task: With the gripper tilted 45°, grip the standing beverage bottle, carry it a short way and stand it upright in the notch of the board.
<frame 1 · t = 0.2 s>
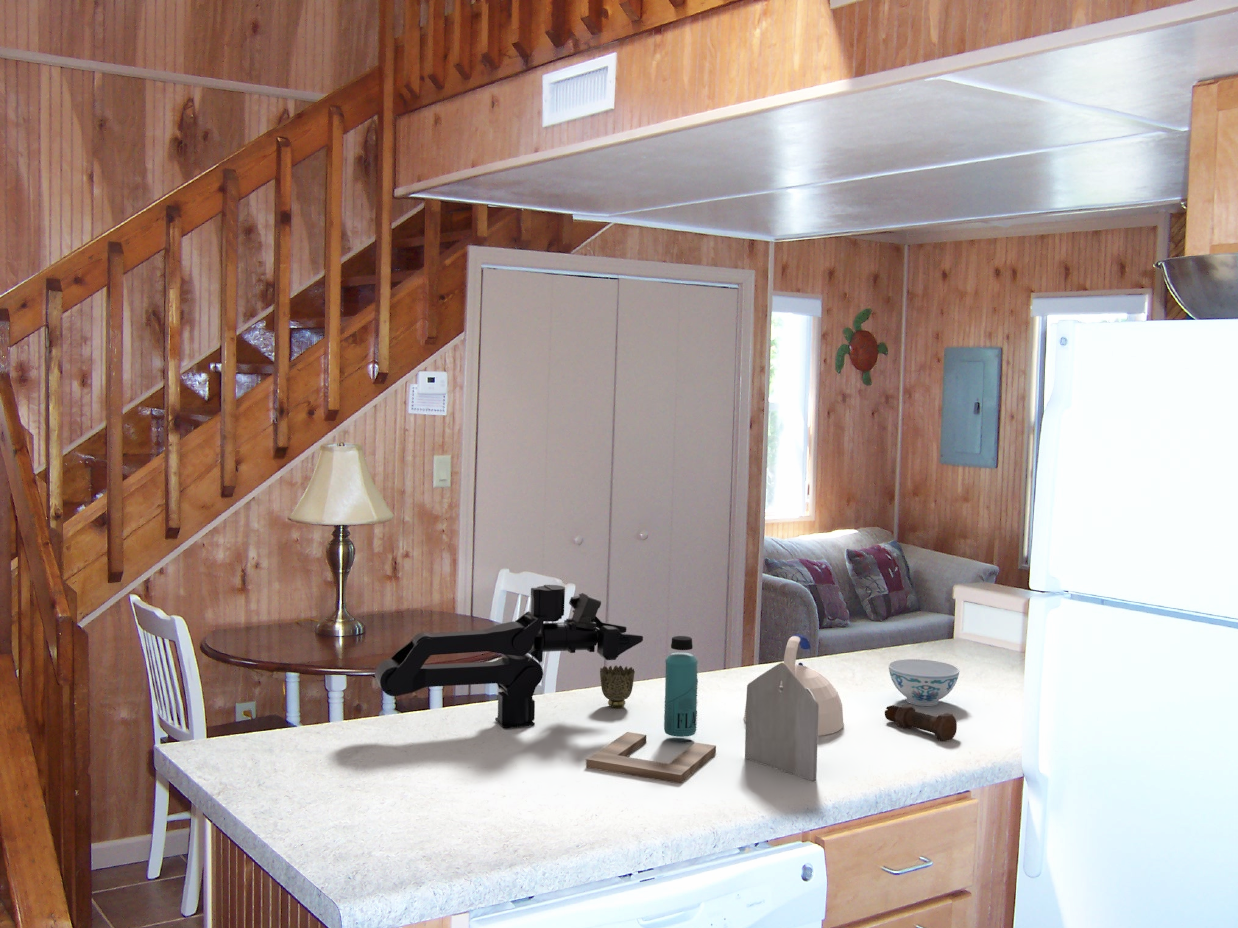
hand: (634, 633, 235), 17 cm above the countertop, fingers open, 9 cm apart
kettle: (793, 723, 232), on the countertop
beverage bottle: (679, 740, 219), on the countertop
cup: (616, 707, 241), on the countertop
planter: (792, 765, 205), on the countertop
bolt: (918, 732, 228), on the countertop
chinaware: (922, 702, 249), on the countertop
notched board: (652, 760, 206), on the countertop
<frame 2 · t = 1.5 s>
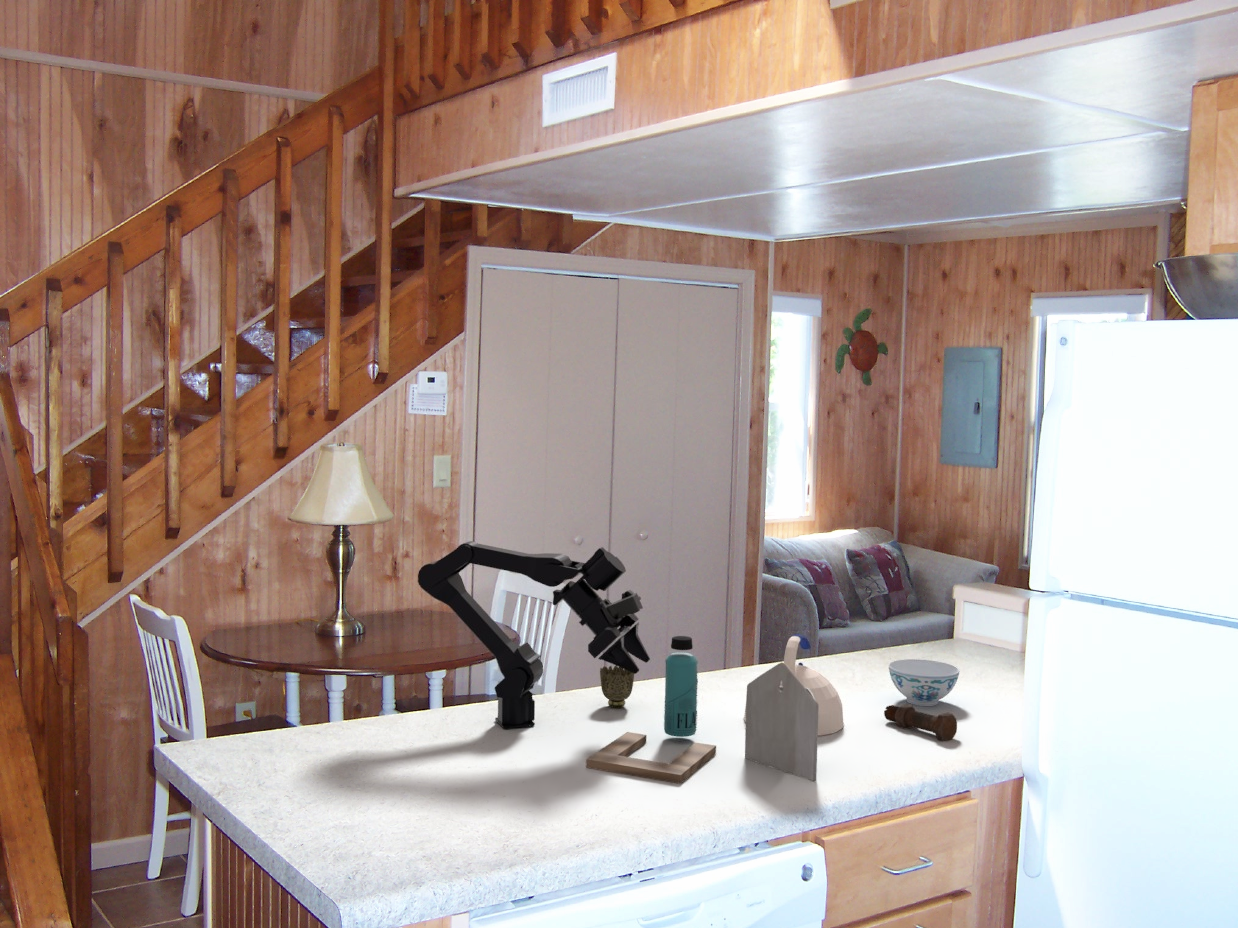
hand: (643, 666, 220), 14 cm above the countertop, fingers open, 9 cm apart
nothing on the countertop moved.
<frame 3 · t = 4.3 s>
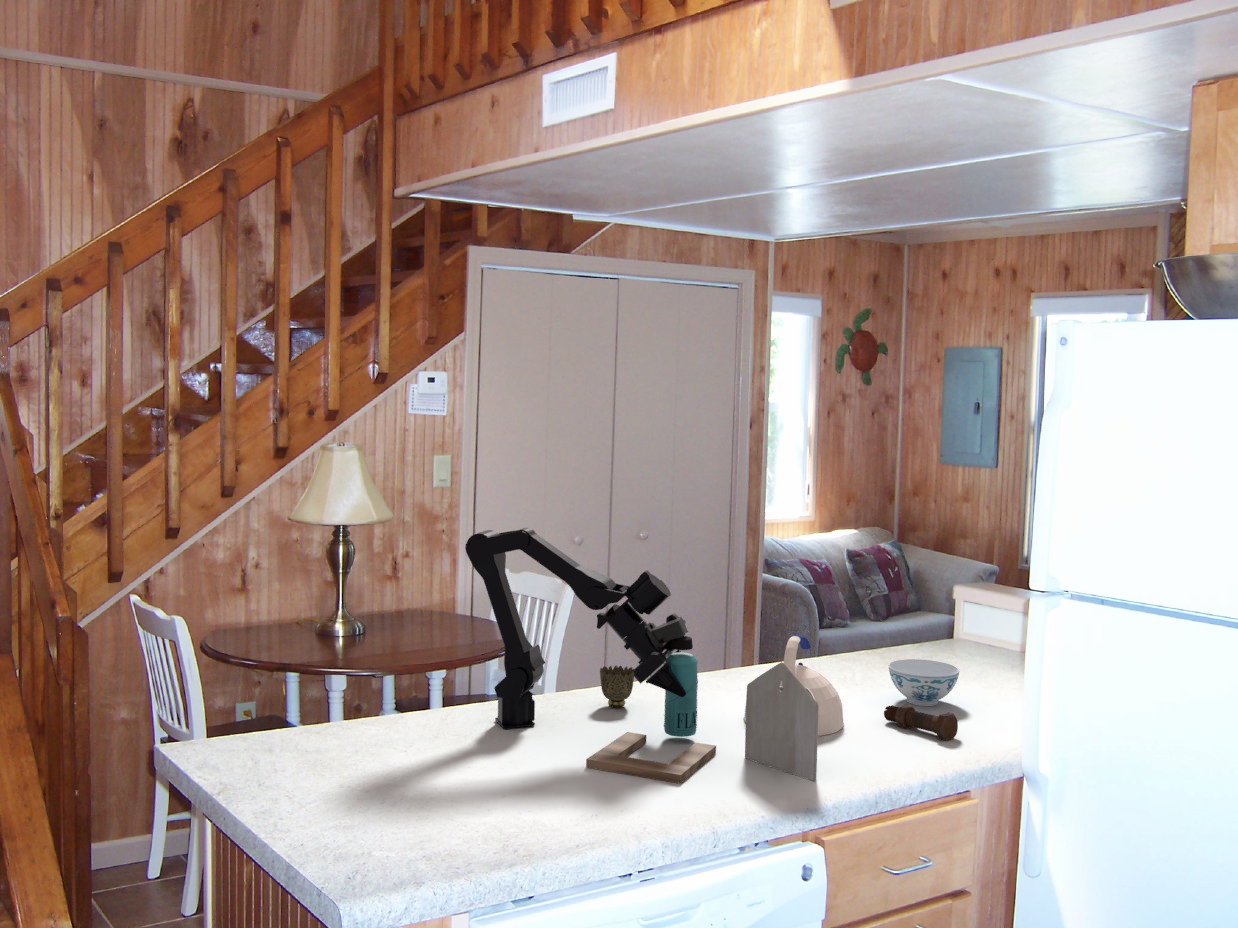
hand: (688, 690, 218), 10 cm above the countertop, fingers closed on beverage bottle, 6 cm apart
beverage bottle: (679, 740, 219), on the countertop, touching gripper
everything else where it was.
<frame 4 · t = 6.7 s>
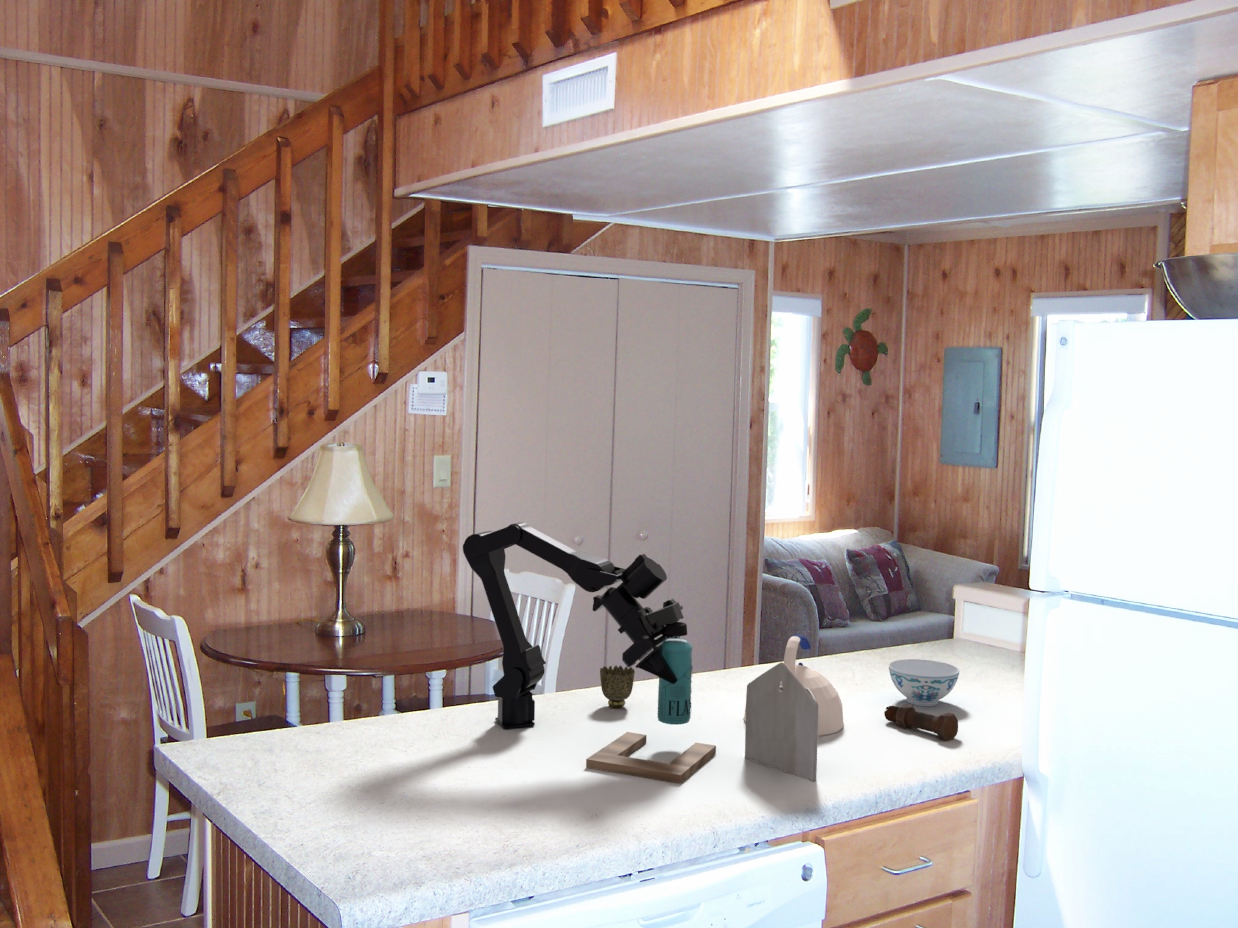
hand: (681, 678, 213), 13 cm above the countertop, fingers closed on beverage bottle, 6 cm apart
beverage bottle: (673, 728, 214), point 3 cm above the countertop, touching gripper
everything else where it was.
when the fingers open (10 cm above the countertop, at t = 9.5 s): beverage bottle stays where it is, resting in notched board.
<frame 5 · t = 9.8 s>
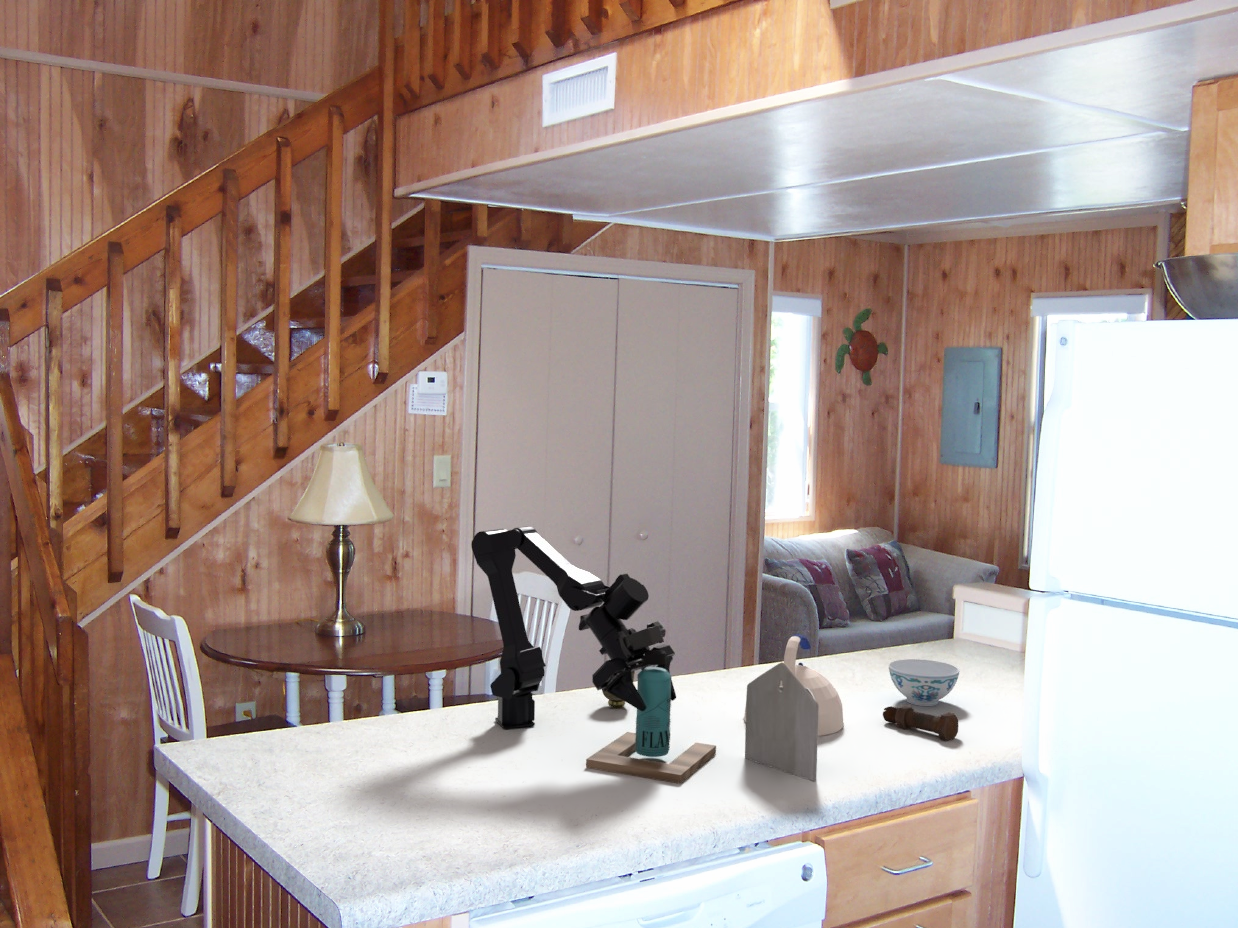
hand: (659, 704, 205), 11 cm above the countertop, fingers open, 9 cm apart
beverage bottle: (651, 760, 206), resting in notched board
everything else where it was.
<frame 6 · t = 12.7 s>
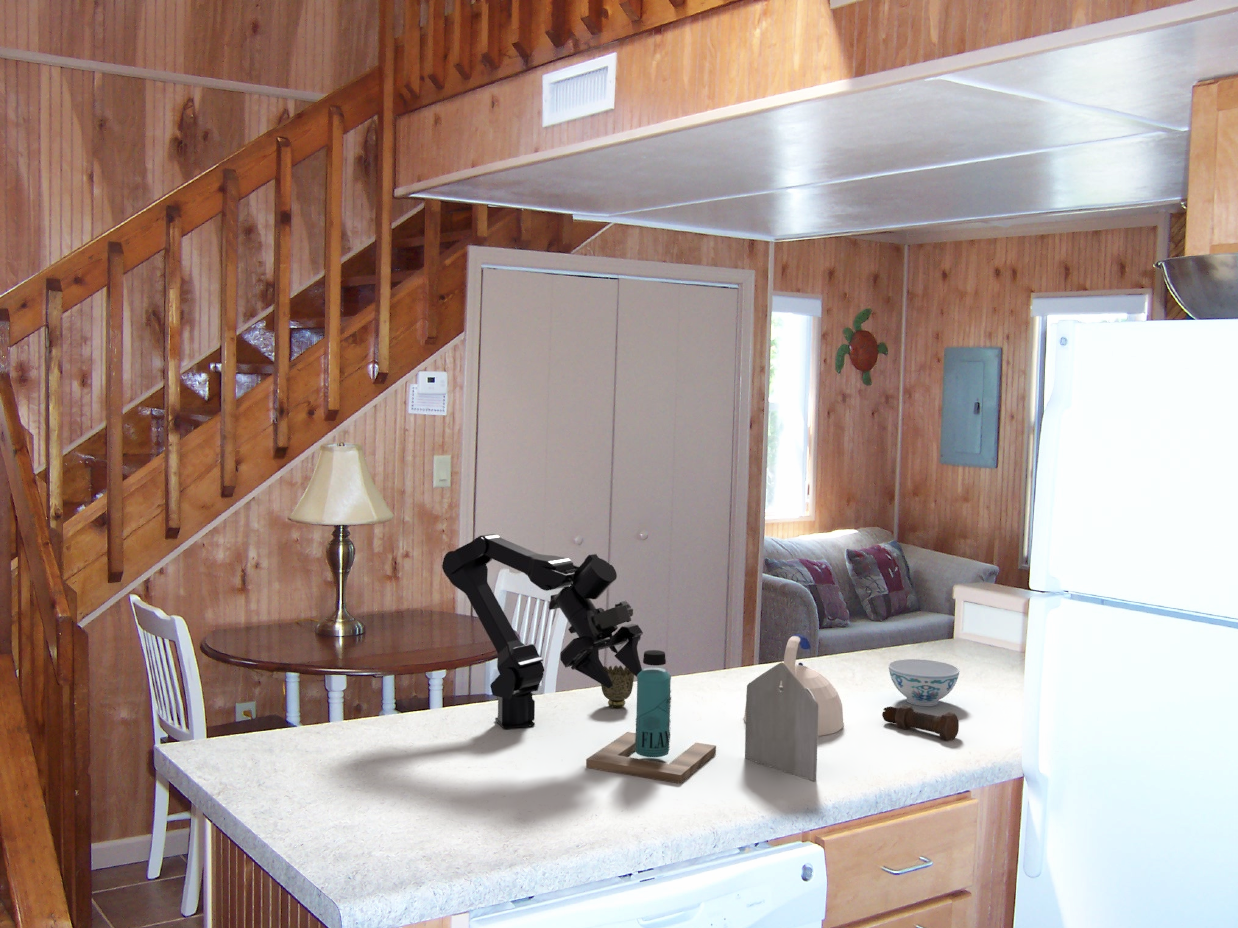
hand: (626, 681, 209), 13 cm above the countertop, fingers open, 9 cm apart
nothing on the countertop moved.
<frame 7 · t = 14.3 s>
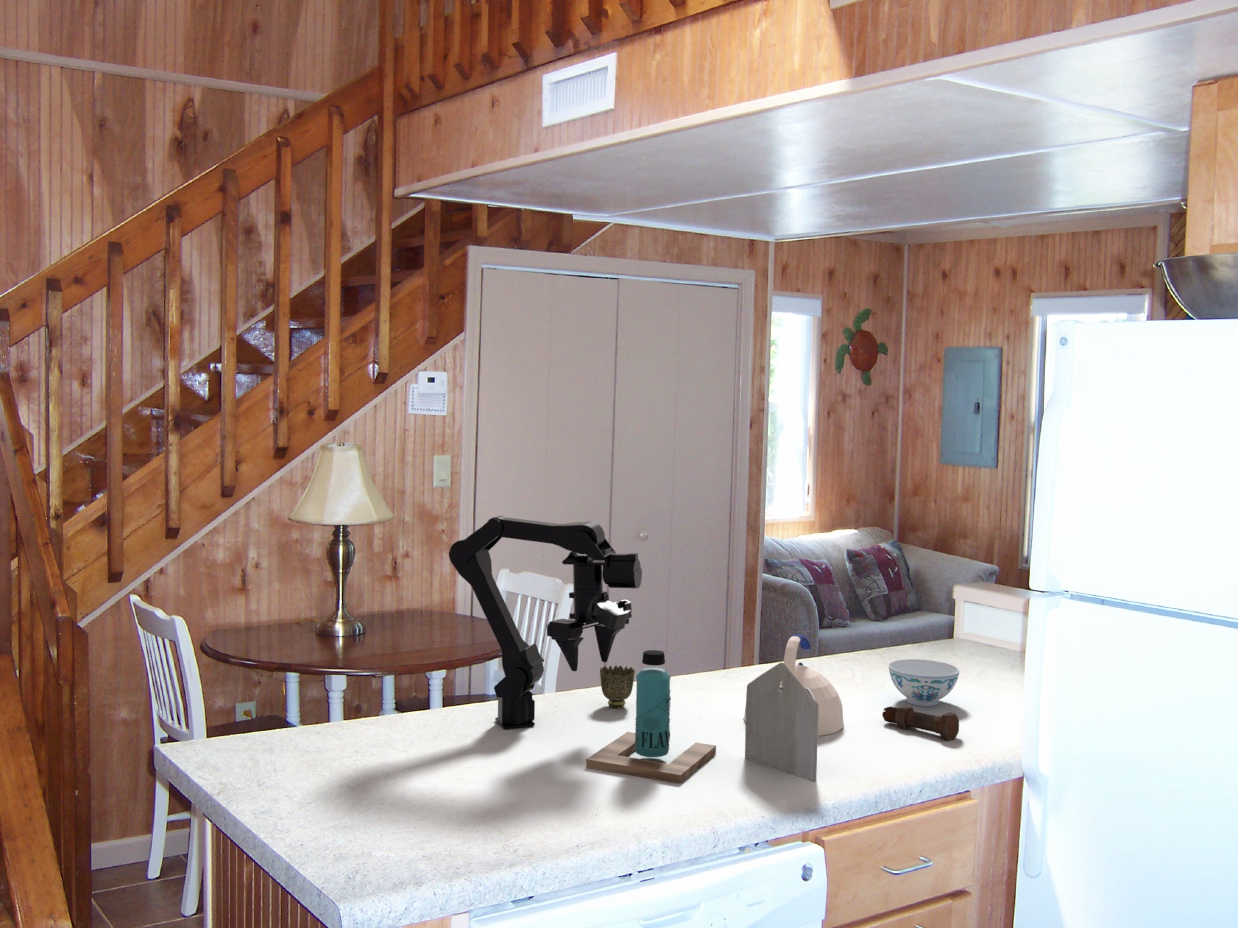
hand: (589, 666, 222), 13 cm above the countertop, fingers open, 9 cm apart
nothing on the countertop moved.
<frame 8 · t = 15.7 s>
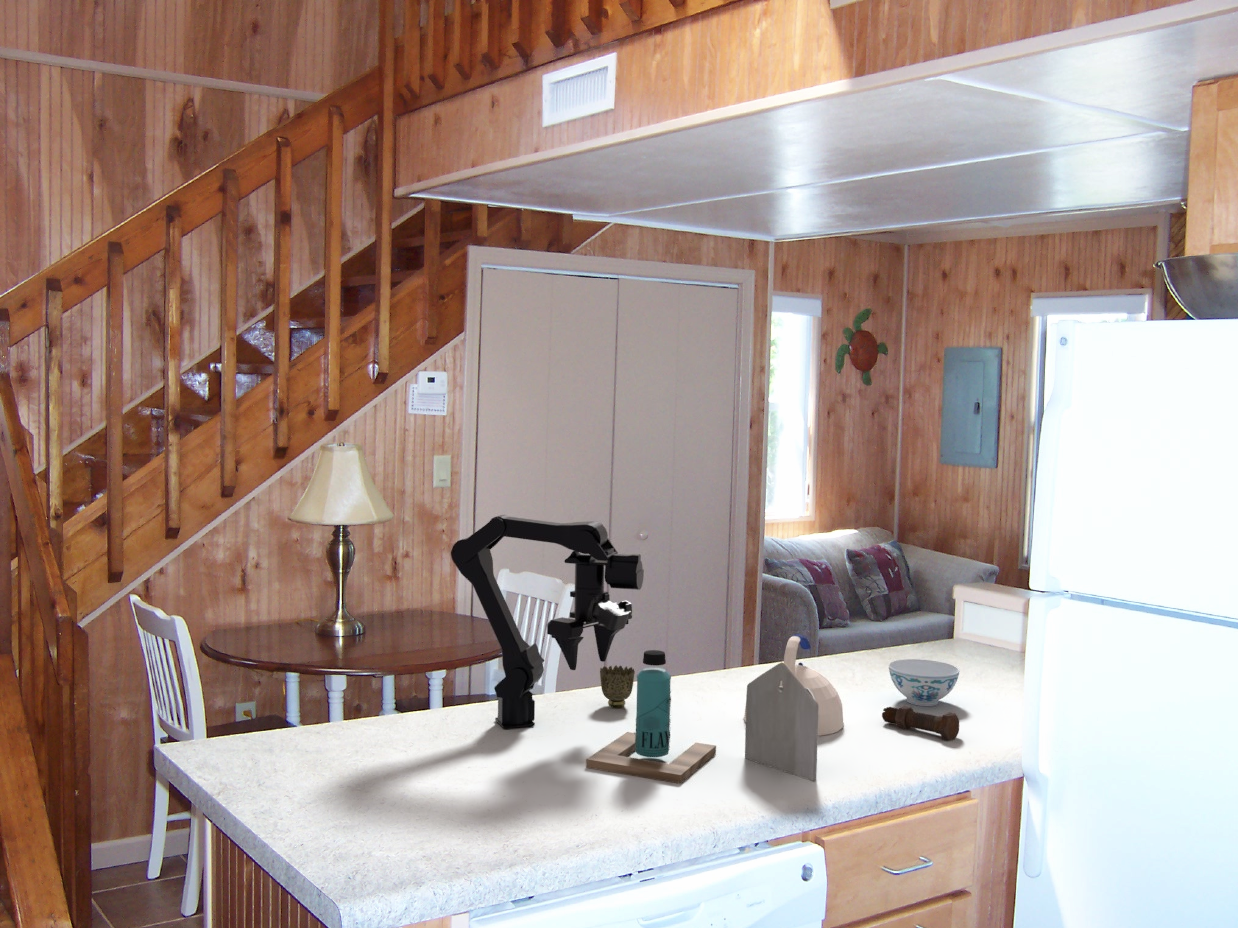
hand: (588, 665, 222), 13 cm above the countertop, fingers open, 9 cm apart
nothing on the countertop moved.
at the end: beverage bottle 0.3 cm off-centre on the notched board, point 0.0 cm above the notched board's base; beverage bottle tilted 0°; the gripper is holding nothing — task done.
